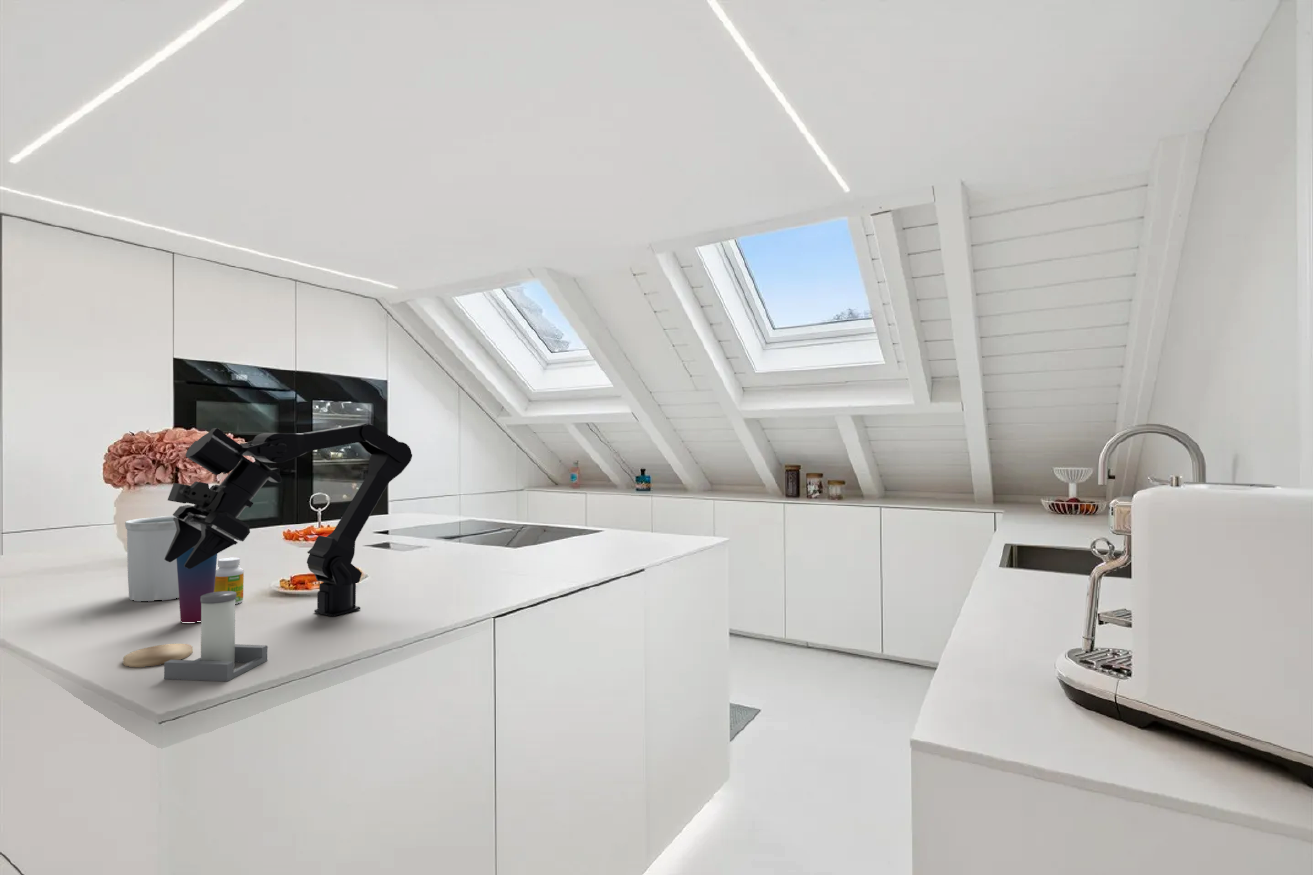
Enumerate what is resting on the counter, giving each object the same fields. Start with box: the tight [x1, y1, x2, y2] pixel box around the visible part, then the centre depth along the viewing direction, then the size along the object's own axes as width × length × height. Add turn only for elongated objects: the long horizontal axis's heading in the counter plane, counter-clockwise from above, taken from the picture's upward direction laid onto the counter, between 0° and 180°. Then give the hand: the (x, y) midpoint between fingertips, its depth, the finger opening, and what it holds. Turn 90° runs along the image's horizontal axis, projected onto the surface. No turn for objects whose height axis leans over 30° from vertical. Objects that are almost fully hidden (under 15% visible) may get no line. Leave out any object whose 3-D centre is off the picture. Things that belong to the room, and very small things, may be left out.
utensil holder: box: [124, 515, 179, 602], centre depth 144 cm, size 15×15×18 cm
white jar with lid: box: [200, 591, 236, 670], centre depth 99 cm, size 5×5×12 cm
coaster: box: [122, 643, 193, 668], centre depth 104 cm, size 9×9×1 cm
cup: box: [177, 544, 218, 622], centre depth 125 cm, size 7×7×15 cm
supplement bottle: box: [214, 556, 245, 605], centre depth 138 cm, size 5×5×10 cm
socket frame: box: [163, 643, 268, 682], centre depth 99 cm, size 9×10×2 cm
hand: (176, 564), depth 109 cm, fingers open, 9 cm apart
